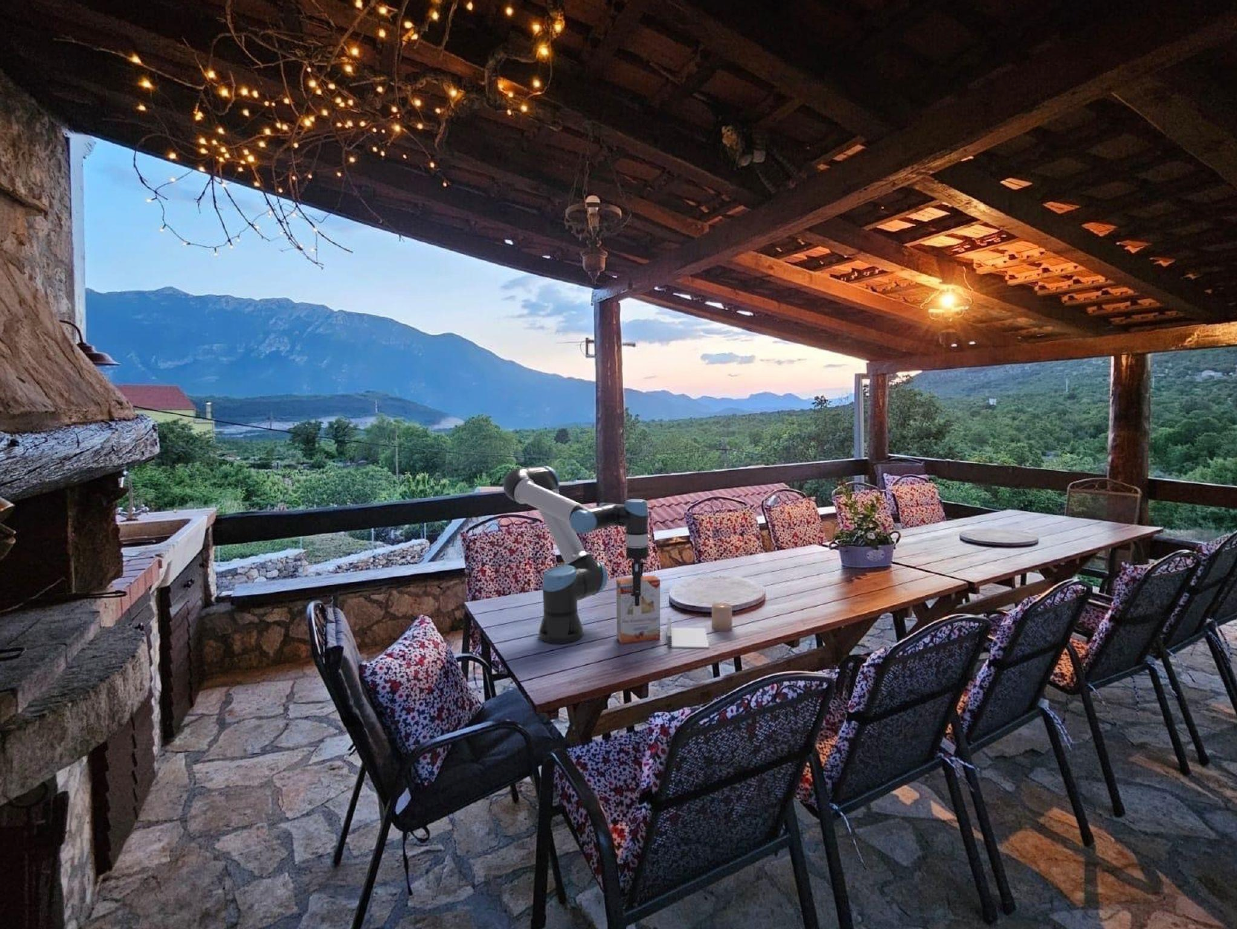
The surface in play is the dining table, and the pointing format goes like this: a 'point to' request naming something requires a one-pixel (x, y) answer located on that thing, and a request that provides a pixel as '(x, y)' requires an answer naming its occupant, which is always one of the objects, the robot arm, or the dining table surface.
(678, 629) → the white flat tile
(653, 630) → the cracker box
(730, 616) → the peach domed knob
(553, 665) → the dining table surface
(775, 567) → the dining table surface
